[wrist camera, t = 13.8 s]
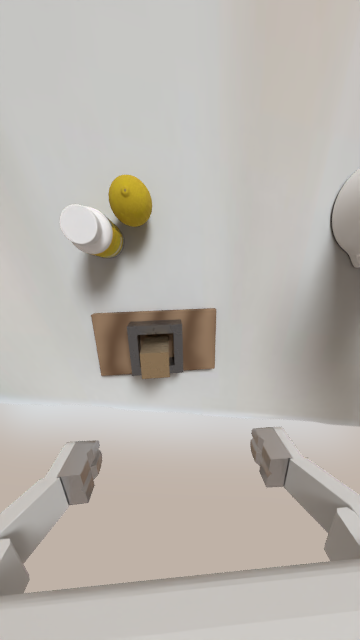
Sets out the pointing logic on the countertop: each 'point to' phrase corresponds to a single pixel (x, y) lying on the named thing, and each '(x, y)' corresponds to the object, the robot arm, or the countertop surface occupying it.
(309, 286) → the countertop surface
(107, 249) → the supplement bottle
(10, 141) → the countertop surface
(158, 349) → the square bar
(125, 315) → the dock board
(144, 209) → the lemon
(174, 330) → the collar
